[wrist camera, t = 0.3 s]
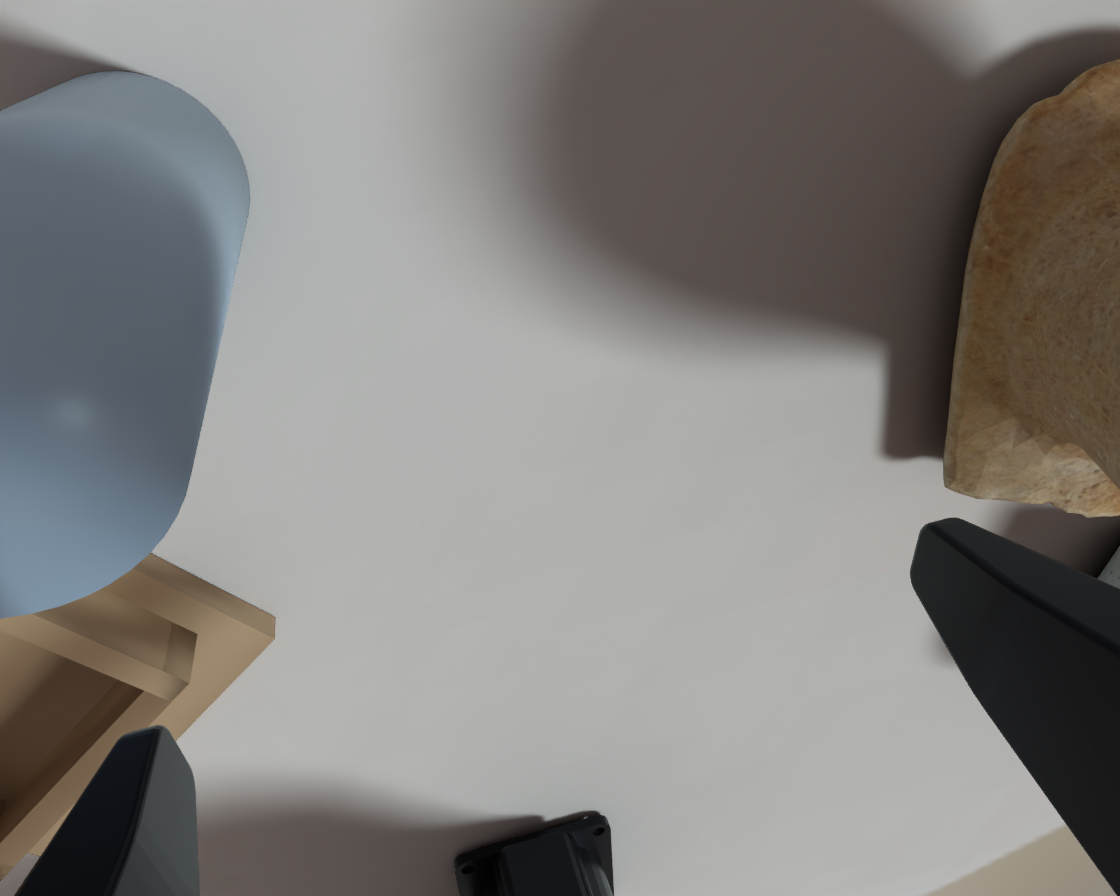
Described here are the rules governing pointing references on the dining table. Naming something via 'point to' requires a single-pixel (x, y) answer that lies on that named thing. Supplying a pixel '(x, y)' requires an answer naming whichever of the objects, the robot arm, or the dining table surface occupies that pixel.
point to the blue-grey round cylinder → (106, 323)
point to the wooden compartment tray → (108, 685)
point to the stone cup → (1044, 312)
